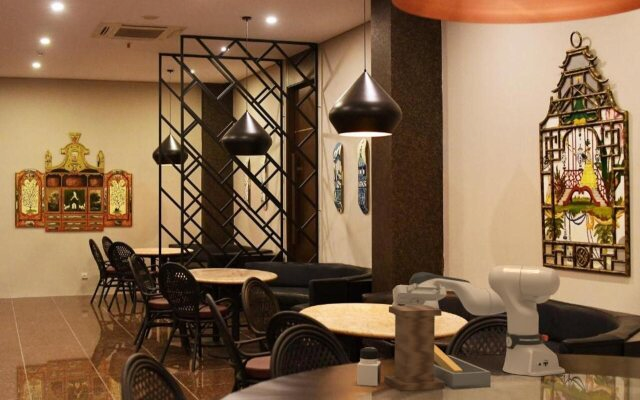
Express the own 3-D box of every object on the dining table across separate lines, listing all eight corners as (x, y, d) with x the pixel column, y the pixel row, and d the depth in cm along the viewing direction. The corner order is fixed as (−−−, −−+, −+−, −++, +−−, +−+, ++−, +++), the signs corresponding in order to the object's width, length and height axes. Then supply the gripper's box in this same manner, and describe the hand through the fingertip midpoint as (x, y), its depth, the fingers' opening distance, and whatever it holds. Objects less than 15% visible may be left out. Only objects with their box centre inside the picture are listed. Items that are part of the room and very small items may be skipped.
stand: (426, 379, 283) (427, 304, 283) (444, 388, 269) (445, 310, 269) (384, 381, 278) (384, 306, 278) (400, 391, 264) (401, 311, 264)
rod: (433, 351, 303) (433, 344, 302) (461, 378, 280) (462, 370, 280) (425, 351, 302) (426, 344, 301) (453, 378, 279) (454, 370, 279)
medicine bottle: (377, 386, 271) (378, 350, 271) (356, 385, 272) (357, 349, 272) (380, 381, 278) (381, 346, 278) (360, 380, 279) (360, 346, 279)
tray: (449, 368, 301) (450, 355, 301) (490, 386, 272) (490, 371, 272) (415, 370, 296) (415, 357, 296) (452, 389, 268) (453, 374, 268)
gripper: (439, 306, 317) (454, 294, 305) (390, 304, 311) (403, 292, 299) (437, 291, 320) (452, 279, 308) (388, 289, 314) (402, 276, 302)
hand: (427, 285), depth 303 cm, fingers open, 8 cm apart
